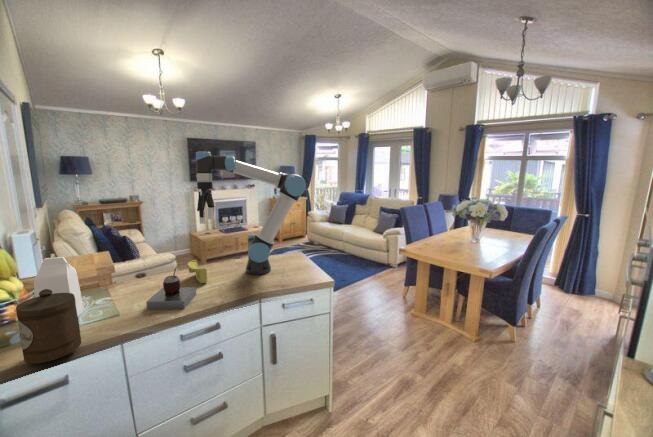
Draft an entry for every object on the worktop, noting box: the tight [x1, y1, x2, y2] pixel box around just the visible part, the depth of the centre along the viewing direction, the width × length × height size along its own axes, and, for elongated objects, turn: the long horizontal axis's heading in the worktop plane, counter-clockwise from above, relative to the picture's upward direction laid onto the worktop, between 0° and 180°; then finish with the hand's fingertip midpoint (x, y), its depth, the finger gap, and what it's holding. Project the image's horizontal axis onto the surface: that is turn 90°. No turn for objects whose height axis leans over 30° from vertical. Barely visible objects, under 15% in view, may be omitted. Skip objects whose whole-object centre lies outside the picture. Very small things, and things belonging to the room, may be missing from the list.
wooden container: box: [15, 289, 82, 364], centre depth 103 cm, size 15×15×22 cm
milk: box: [33, 256, 85, 317], centre depth 125 cm, size 12×12×26 cm
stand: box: [146, 286, 197, 311], centre depth 143 cm, size 16×16×4 cm
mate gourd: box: [162, 264, 181, 296], centre depth 142 cm, size 8×8×15 cm
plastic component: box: [187, 259, 208, 284], centre depth 171 cm, size 20×7×10 cm, turn 36°
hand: (206, 221), depth 162 cm, fingers open, 13 cm apart
